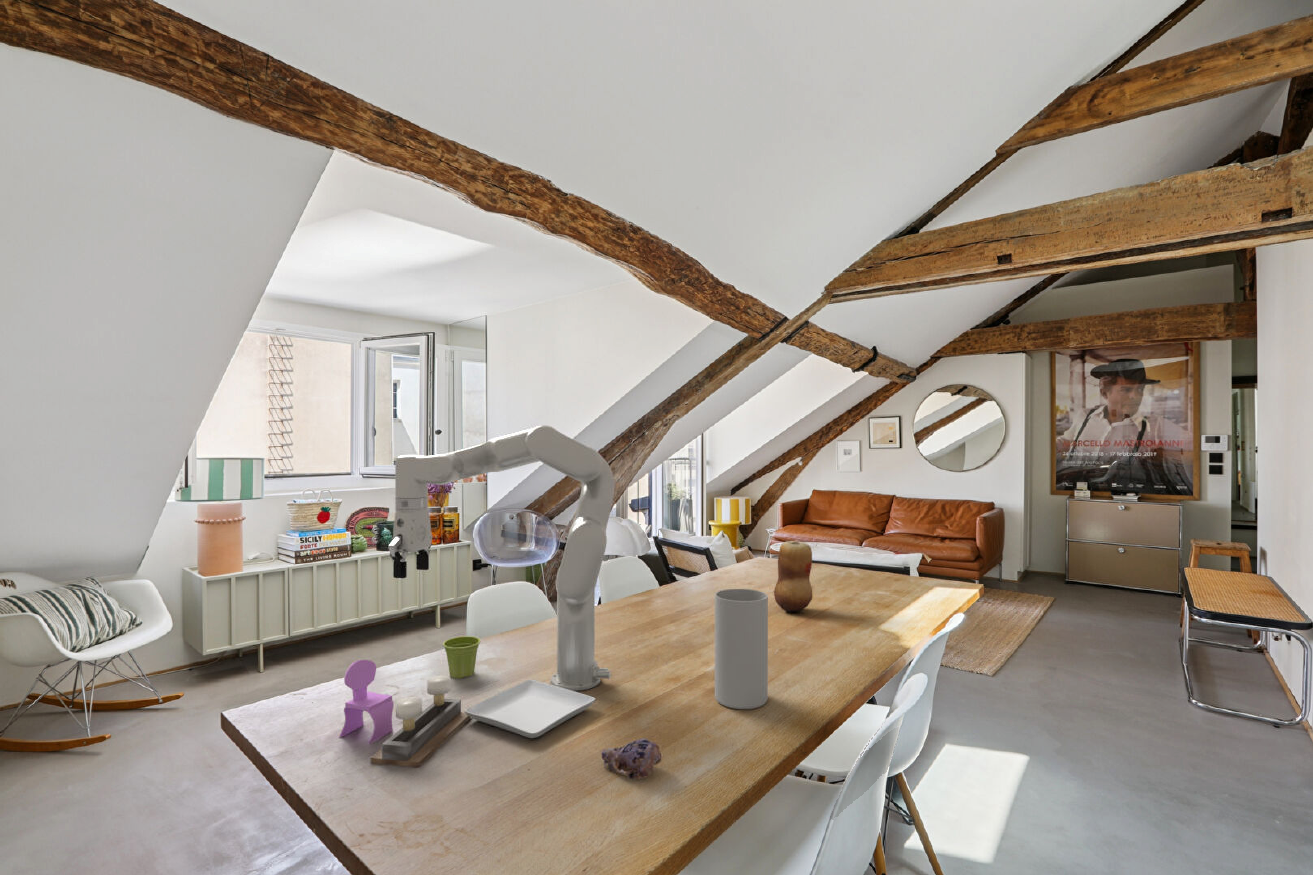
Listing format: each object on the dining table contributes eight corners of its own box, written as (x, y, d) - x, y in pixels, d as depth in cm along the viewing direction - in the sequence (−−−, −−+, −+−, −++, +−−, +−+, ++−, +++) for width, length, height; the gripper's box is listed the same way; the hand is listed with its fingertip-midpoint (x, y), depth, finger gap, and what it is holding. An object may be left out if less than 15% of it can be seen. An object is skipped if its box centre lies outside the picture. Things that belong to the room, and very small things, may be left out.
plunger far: (454, 699, 141) (454, 676, 141) (443, 708, 136) (443, 684, 136) (434, 698, 142) (434, 674, 142) (422, 707, 137) (422, 682, 137)
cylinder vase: (771, 693, 157) (771, 591, 157) (762, 713, 145) (762, 603, 145) (721, 686, 161) (721, 587, 161) (709, 706, 149) (709, 598, 149)
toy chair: (368, 746, 130) (368, 672, 130) (335, 739, 133) (335, 666, 133) (398, 728, 138) (398, 658, 138) (366, 722, 141) (366, 653, 141)
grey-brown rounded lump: (593, 769, 121) (593, 736, 121) (618, 752, 128) (618, 721, 128) (645, 789, 114) (645, 754, 114) (669, 770, 121) (669, 738, 121)
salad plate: (534, 749, 129) (534, 732, 129) (461, 724, 141) (461, 708, 141) (598, 711, 147) (598, 696, 147) (529, 691, 159) (529, 678, 159)
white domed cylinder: (426, 723, 129) (426, 697, 129) (413, 734, 124) (413, 707, 124) (404, 722, 130) (404, 696, 130) (390, 732, 125) (390, 706, 125)
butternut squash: (804, 618, 222) (804, 546, 222) (768, 612, 229) (768, 542, 229) (817, 609, 234) (818, 540, 234) (783, 604, 241) (783, 537, 241)
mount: (470, 717, 143) (471, 700, 143) (418, 767, 121) (418, 747, 121) (429, 714, 145) (429, 697, 145) (370, 762, 123) (370, 743, 123)
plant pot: (469, 682, 164) (469, 648, 164) (436, 679, 165) (436, 646, 165) (486, 669, 173) (486, 637, 173) (454, 667, 175) (454, 635, 175)
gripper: (405, 508, 150) (404, 582, 150) (443, 501, 167) (443, 567, 167) (376, 508, 152) (376, 580, 152) (417, 501, 169) (417, 566, 169)
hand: (411, 573), depth 159 cm, fingers open, 9 cm apart
